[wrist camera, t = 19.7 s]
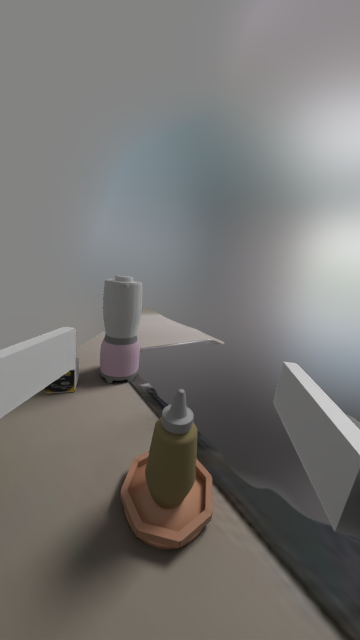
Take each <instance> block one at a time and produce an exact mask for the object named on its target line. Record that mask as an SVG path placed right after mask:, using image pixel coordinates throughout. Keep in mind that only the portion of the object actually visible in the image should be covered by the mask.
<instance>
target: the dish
mask: <svg viewBox="0 0 360 640" xmlns="http://www.w3.org/2000/svg"><path fill="white" fill-rule="evenodd" d="M148 455H149V451H148V452H146V453H144V454H142V455H140V456H138V457H136V458H134V459H133V462H132V464H131V466H130V469H129V471H128V474H127V476H126V478H125V481H124V483H123V486H122V488H121V490H120V499H121V502H122V504H123V506H124V513H125V516H126V519H127V522H128V524H129V526H130V528H131V529H132V531H133V532H134V533H135V535H136V536H137V537H138V538H139V539H141V540H142V541H143V542H144V543H146V544H148V545H150V546H152V547H155V548H158V549H166V550H171V549H177V548H181V547H183V546H185V545H187V544H189V543H191V542H192V541H193V540H194V539H196V538H197V536H198V535H199V534H200V533H201V532H202V530H203V529H204V527H205V525H206V524H208V523H209V522H210V521H211V517H212V476H211V475H210V474H209V472H208V471H207V470H206V469H205V468H204V467H203V465H202V464H201V463H200V462H199V461H198V460H197V459H196V477H195V482H194V484H193V487H192V489H191V490H190V492H189V493H188V495H187V496H186V498H185V499H184V500H183V502H182V503H180V504H179V505H178V506H177V507H173V508H163V507H161V506H159V505H158V504H156V503H155V501H154V500H153V498H152V497H151V494H150V491H149V488H148V485H147V482H146V477H145V469H146V465H147V460H148Z"/></svg>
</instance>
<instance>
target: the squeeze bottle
mask: <svg viewBox="0 0 360 640" xmlns="http://www.w3.org/2000/svg"><path fill="white" fill-rule="evenodd" d="M196 453H197V428H196V426H195V424H194V422H193V413H192V411H191V410H190V409H189V408H188V407H186V397H185V391H184V390H182V389H178V390H177V392H176V394H175V397H174V400H173V403H172V404H171V405H169V406H166V407H165V408H164V409H163V412H162V417H161V418H160V419H159V420H158V421H157V422H156V424H155V428H154V433H153V437H152V442H151V446H150V451H149V455H148V460H147V465H146V469H145V477H146V482H147V485H148V488H149V491H150V494H151V497H152V498H153V500H154V501H155V503H156V504H158V505H159V506H161V507H163V508H173V507H177V506H178V505H179V504H180V503H182V502H183V500H184V499H185V498H186V496H187V495H188V493H189V492H190V490H191V489H192V487H193V484H194V482H195V477H196Z"/></svg>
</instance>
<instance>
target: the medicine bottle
mask: <svg viewBox="0 0 360 640" xmlns="http://www.w3.org/2000/svg"><path fill="white" fill-rule="evenodd" d="M78 379H79V359H78V358H76V367H74V368H73V369H72V370H70V371H69V372H67V373H66V374H64V375H63V376H61V377H60V378H58V379H57V380H55V381H54V382H53V383H51V384H50V385H48V386H47V387H45V393H46V394H49V393H65V392H74V391H75V389H76V385H77V382H78Z"/></svg>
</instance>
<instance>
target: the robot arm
mask: <svg viewBox="0 0 360 640" xmlns="http://www.w3.org/2000/svg"><path fill="white" fill-rule="evenodd" d="M74 367H76V349H75V328H70V327H62V328H60V329H57V330H54V331H52V332H49V333H46V334H43V335H40V336H38V337H35V338H32V339H29V340H27V341H24V342H21V343H18V344H15V345H13V346H10V347H7V348H4V349H2V350H0V418H2V417H3V416H4V415H6V414H7V413H9V412H10V411H12V410H13V409H15V408H16V407H18V406H19V405H20V404H22V403H23V402H25V401H26V400H28V399H29V398H31V397H32V396H34V395H35V394H37V393H38V392H39V391H41V390H42V389H44V388H45V387H47V386H48V385H50V384H51V383H53V382H54V381H55V380H57V379H58V378H60V377H61V376H63V375H64V374H66V373H67V372H69V371H70V370H72V369H73V368H74ZM273 404H274V406H275V408H276V410H277V412H278V414H279V416H280V418H281V420H282V423H283V425H284V427H285V429H286V431H287V433H288V435H289V437H290V439H291V441H292V444H293V446H294V448H295V450H296V452H297V454H298V456H299V458H300V460H301V462H302V464H303V467H304V469H305V471H306V473H307V475H308V477H309V479H310V481H311V483H312V485H313V487H314V490H315V491H316V494H317V496H318V498H319V500H320V502H321V504H322V506H323V508H324V510H325V512H326V515H327V517H328V519H329V521H330V523H331V525H332V527H333V529H334V531H335V532H337V533H341V534H345V535H349V536H353V537H358V538H360V422H358V421H357V420H356V419H354V418H353V417H351V416H349V415H345V414H344V413H343V412H342V411H341V409H340V408H339V407H338V406H337V405H336V404H335V403H334V402H333V401H332V400H331V399H330V398H329V397H328V396H327V395H326V394H325V393H324V392H323V391H322V390H321V388H320V387H319V386H318V385H317V384H316V383H315V382H314V381H313V380H312V379H311V378H310V377H309V376H308V375H307V374H306V373H305V372H304V371H303V370H302V369H301V367H300V366H298V364H295V363H289V362H283V365H282V369H281V373H280V377H279V381H278V385H277V389H276V393H275V397H274V401H273Z"/></svg>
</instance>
